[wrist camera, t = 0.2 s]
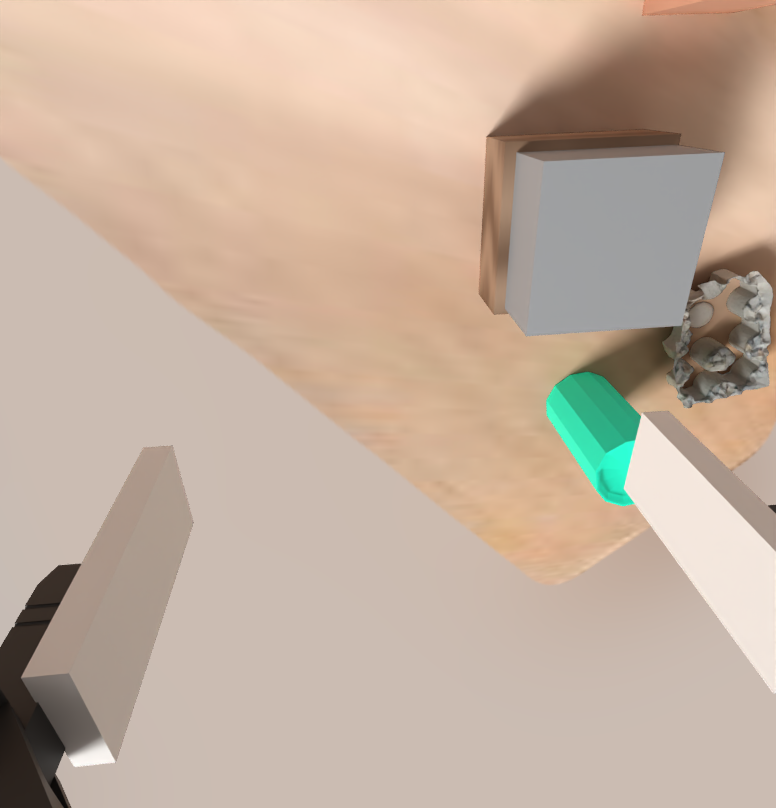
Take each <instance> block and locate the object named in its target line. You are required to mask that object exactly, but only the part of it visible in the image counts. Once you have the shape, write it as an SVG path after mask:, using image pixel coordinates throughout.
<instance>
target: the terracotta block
mask: <svg viewBox="0 0 776 808" xmlns="http://www.w3.org/2000/svg"><path fill="white" fill-rule="evenodd" d="M775 4H776V0H645V1H644V7H643V14H642V15H672V14H703V13H734V12H739V11H744V10H749V9H754V8H760V7H765V6H770V5H775Z"/></svg>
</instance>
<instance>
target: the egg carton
mask: <svg viewBox="0 0 776 808" xmlns="http://www.w3.org/2000/svg"><path fill="white" fill-rule="evenodd" d="M732 278H736V279H738V280H740V287H738V288H737V289H735V290H734V291H733V292H732V293H731V294H730V295H729V297H728V299H727V303H726V305H727V308H728V310H729V311H730V312H732V313H734V314H736V315H737V316H739V317H741V318H742V322H741V324H739V325H737V326H736V327H735V328H734V329H733V330H732V331H731V333H730V335H729V344H730V345H731V346H733V347H734V348H736V349H737V350H739V351H740V352H742V353H743V357H741V358H739V359H738V360H736V361H735V358H736V356H735V355H734V354H733V353H732V352H731V351H730V350H729V349H728V348H727V347H725V346H724V345H722V344H721V343H719V342H718V341H716V340H714V339H712V338H710V337H703V338H701V339H699V340H697V341H696V342H695V343H694V344H693V345H692V347H691V349H690V357H691V359H692V360H694V361H695V362H696V363H698V364H699V365H700V366H702V367H703V368H704V369H706V370H704V371H702V372H701V373H699V374H698V375H697V376H696V377H695V379H694V381H693V385H692V386H691V387H688V388H685V389H683V388H682V387H683V385H684V383H685V382H686V381H687V380H689V377H690V374H691V373H692V372H693V371H694V368H693V367H692V366H690V365H689V364H688V363H687V362H686V361H685V360H683V359H682V358H681V357H682V356H684V355H685V354H687V353H688V351H689V349H688V347H687V345H688V344H689V342H690V336H692V335H693V334H692V333H691V331H690V330H689V328H690V327H693V328H699V327H702V326H704V325H706V324H707V323H708V322H709V321H710V320H711V318H712V315H713V311H714V309H713V307H712V305H711V304H709V303H707V302H700V303H697V304H695V305H694V306H693V307H692V308H691V309H690V307H691V305H692V304H694V303H695V302H696V301H698V300H700V299H713V298H715V297H717V296H718V295H719V294H720V293H722V291H723V290H724V289H725V288H726V285H727V284H728V283H729V281H730V280H731V279H732ZM698 287H699V289H700V290H699V291H696V292H695V291H694V290H691V289H690V293H689V297H688V301H687V305H686V309H685V313H684V317H683V321H682V325H681V326H673V331H672V333H671V334H670V336H669V337H668V338H667V339H666V340H664V341H663V342H662V344H663V346H664V349H665V352H667V354H668V356H669V357H670V358H672V359H673V360H675V361H674V367H673V370H672V371H671V372H669V373H668V374H667V377H666V379H667V382H668V384H670V385H673V386H674V387H675V388H676V389H677V391H678V395H677V398H678V399H679V400H681V401H682V403H683V405H684V406H683V407H684V408H691V407H692V405H693V404H695V403H699V402H705V403H712V402H713V401H714V400H715V399H719V398H727V397H729V396H733V395H739V394H742V392H743V391H744V390H752V389H758V388H762V387H766V386H769V374H768V363H767V360H766V357H767V356H768V355H769V352H768V350H767V346H768V345H769V344H771V338H770V322H771V321H770V309H771V304H772V299H773V289H772V287H771V286H770V284H769V283H768V282H767V281H766V280H765V279H764V277H763V276H762V275H761V274H760V273H759V272H758V271H752V272H750V273H749V274H748V275H746V277H742V276H739V275H737V274H735V273H734V272H731V271H729V270H727V269H720V270H717V271H714V272H712V273H711V277H710V280H709V282H707V283H703V284H700V285H698ZM689 309H690V310H689ZM734 361H735V362H734ZM733 362H734V363H733ZM732 363H733V365H732V367H731V369H730V371H729V372H728V373H725V374H721V373H717V372H716V371H724V370H726V369H727V368H728V367H729V366H730V365H731V364H732Z"/></svg>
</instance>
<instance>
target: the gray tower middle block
mask: <svg viewBox="0 0 776 808" xmlns="http://www.w3.org/2000/svg"><path fill="white" fill-rule="evenodd" d="M724 154H725V152H719V151H712V150H706V149H700V148H693V147H687V146H680V145H658V146H637V147H616V148H596V149H575V150H555V151H534V152H517V153H516V166H515V180H514V193H513V206H512V219H511V233H510V246H509V259H508V273H507V286H506V299H505V309H506V311H507V312H508V313H509V315H510V316H511V317H512V318H513V320H514V321H515V322H516V324H517V325H518V326H519V327H520V329H521V330H522V331H523V332H524V334H525V335H526V336H536V335H551V334H566V333H581V332H595V331H610V330H625V329H640V328H654V327H669V326H681V325H682V321H683V317H684V313H685V309H686V305H687V301H688V297H689V293H690V289H691V285H692V281H693V278H694V274H695V270H696V266H697V262H698V258H699V254H700V250H701V246H702V242H703V238H704V234H705V230H706V226H707V222H708V218H709V214H710V210H711V206H712V202H713V198H714V194H715V190H716V186H717V182H718V178H719V174H720V170H721V166H722V162H723V158H724Z"/></svg>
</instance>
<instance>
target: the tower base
mask: <svg viewBox="0 0 776 808" xmlns="http://www.w3.org/2000/svg"><path fill="white" fill-rule="evenodd" d="M680 137H681V134H679V133H670V132H662V131H653V130H645V129H642V130H620V131H598V132H577V133H555V134H533V135H512V136H490V137H487V139H486V159H485V179H484V199H483V218H482V238H481V258H480V278H479V295H480V296H481V297H482V299H483V300H484V302H485V303H486V304H487V306H488V307H489V309H490V310H491V311H492V313H493V314H494V315H496V314H509V313H508V312H507V311H506V309H505V299H506V286H507V273H508V259H509V246H510V233H511V219H512V206H513V193H514V180H515V166H516V153H517V152H534V151H555V150H575V149H596V148H616V147H637V146H658V145H679V141H680Z"/></svg>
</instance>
